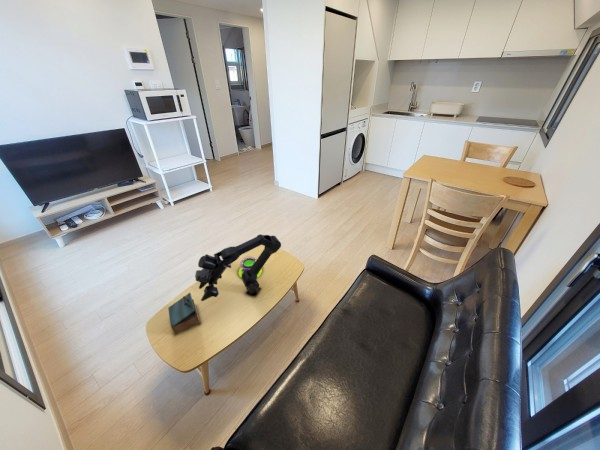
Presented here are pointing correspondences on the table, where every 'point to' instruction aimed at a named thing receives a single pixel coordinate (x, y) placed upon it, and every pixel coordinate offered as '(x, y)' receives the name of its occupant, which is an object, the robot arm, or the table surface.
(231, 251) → the robot arm
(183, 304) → the lid
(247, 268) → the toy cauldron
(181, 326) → the box
